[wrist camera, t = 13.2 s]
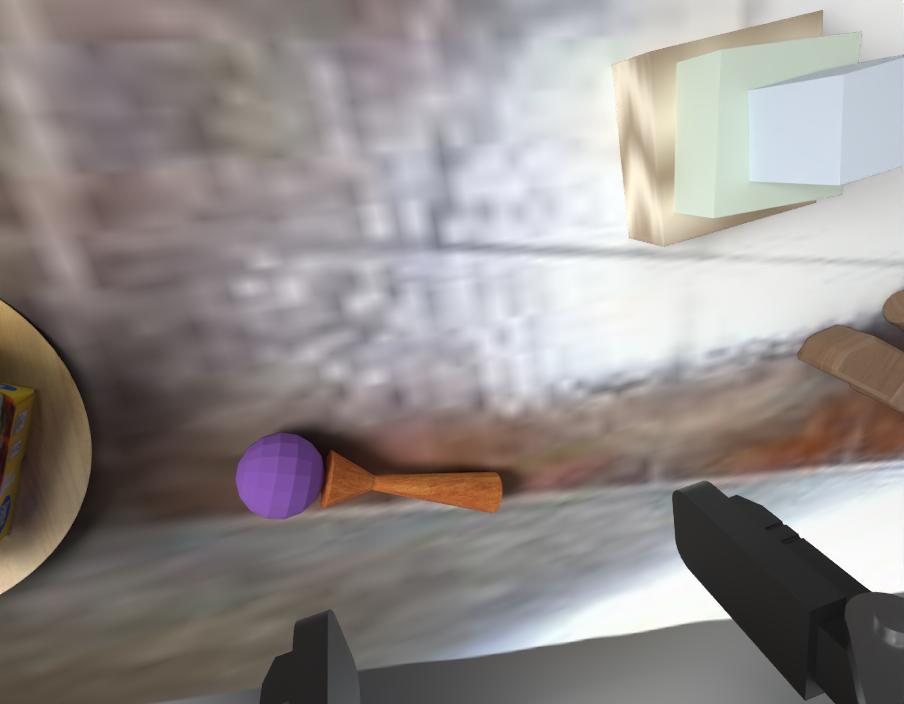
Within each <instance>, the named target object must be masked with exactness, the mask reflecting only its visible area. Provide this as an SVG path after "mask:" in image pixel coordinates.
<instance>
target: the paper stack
mask: <svg viewBox="0 0 904 704" xmlns="http://www.w3.org/2000/svg"><path fill="white" fill-rule="evenodd" d="M91 456H92V448H91V435H90V427H89V422H88V418H87V414H86V411H85V407H84V404H83V401H82V398H81V396H80V393H79V391H78V389H77V387H76V384H75V382H74V381H73V379H72V377H71V375H70V373H69V371H68V369H67V368H66V366H65V365H64V363H63V362H62V360H61V359H60V358H59V356H58V355H57V353H56V352H55V350H54V349H53V348H52V347H51V346H50V344H49V343H48V342H47V341H46V340H45V339H44V338H43V336H42V335H41V334H40V333H39V332H38V331H37V330H36V329H35V328H34V327H33V326H32V325H31V324H30V323H29V322H28V321H26V320H25V319H24V318H23V317H22V316H21V315H19V314H18V313H17V312H16V311H15V310H13V309H12V308H11V307H9V306H8V305H7V304H5V303H4V302H3V301H1V300H0V594H2V593H3V592H5V591H7V590H8V589H10V588H11V587H13V586H14V585H16V584H17V583H19V582H20V581H21V580H23V579H24V578H25V577H26V576H28V575H29V574H30V573H31V572H33V571H34V570H35V569H36V568H37V567H38V566H39V565H40V564H41V563H42V562H43V561H44V560H45V559H46V558H47V557H48V556H49V555H50V554H51V553H52V552H53V551H54V549H55V548H56V547H57V546H58V545H59V543H60V542H61V541H62V539H63V538H64V536H65V535H66V533H67V532H68V530H69V529H70V527H71V525H72V524H73V522H74V520H75V518H76V516H77V514H78V512H79V510H80V507H81V505H82V502H83V499H84V496H85V493H86V490H87V486H88V481H89V476H90V470H91Z"/></svg>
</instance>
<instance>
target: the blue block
mask: <svg viewBox="0 0 904 704" xmlns="http://www.w3.org/2000/svg"><path fill="white" fill-rule="evenodd" d="M748 120H749V164H750V181H753V182H775V183H796V184H818V185H839V186H840V185H843V184H846V183H849V182H853V181H856V180H859V179H862V178H866V177H869V176H872V175H875V174H879V173H882V172H885V171H889V170H892V169H895V168H898V167H902V166H904V55H899V56H894V57H888V58H883V59H878V60H872V61H867V62H861V63H856V64H851V65H845V66H840V67H835V68H829V69H824V70H821V71H817V72H814V73H810V74H806V75H803V76H799V77H796V78H792V79H788V80H785V81H781V82H777V83H774V84H770V85H767V86H763V87H759V88H756V89H752V90H749V91H748Z"/></svg>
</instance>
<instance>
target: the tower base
mask: <svg viewBox="0 0 904 704" xmlns="http://www.w3.org/2000/svg"><path fill="white" fill-rule="evenodd" d="M822 24H823V10H821V11H817V12H813V13H809V14H804V15H800V16H796V17H792V18H788V19H784V20H780V21H775V22H771V23H767V24H763V25H759V26H755V27H750V28H746V29H742V30H738V31H734V32H730V33H726V34H721V35H717V36H713V37H709V38H705V39H701V40H697V41H692V42H688V43H684V44H680V45H676V46H672V47H668V48H663V49H659V50H655V51H651V52H648V53H645V54H642V55H639V56H636V57H633V58H631V59H628V60H625V61H622V62H619V63H616V64H613V65H612V72H613V82H614V92H615V103H616V113H617V123H618V133H619V143H620V153H621V163H622V173H623V183H624V193H625V203H626V214H627V224H628V234H629V238H631V239H635V240H639V241H644V242H648V243H652V244H656V245H660V246H664V247H665V246H668V245H671V244H675V243H678V242H682V241H685V240H689V239H692V238H696V237H699V236H702V235H706V234H709V233H713V232H716V231H720V230H723V229H726V228H730V227H733V226H737V225H740V224H744V223H747V222H751V221H754V220H757V219H761V218H764V217H768V216H771V215H775V214H778V213H782V212H785V211H788V210H792V209H795V208H799V207H802V206H806V205H809V204H813V203H816V200H811V201H806V202H800V203H795V204H789V205H784V206H778V207H773V208H767V209H762V210H757V211H751V212H746V213H740V214H735V215H729V216H724V217H718V218H708V217H701V216H694V215H687V214H679V213H674V183H675V126H676V69H677V63H678V62H681V61H684V60H688V59H691V58H694V57H698V56H701V55H705V54H708V53H711V52H715V51H718V50H722V49H730V48H737V47H745V46H753V45H761V44H769V43H776V42H784V41H792V40H800V39H807V38H815V37H822Z"/></svg>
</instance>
